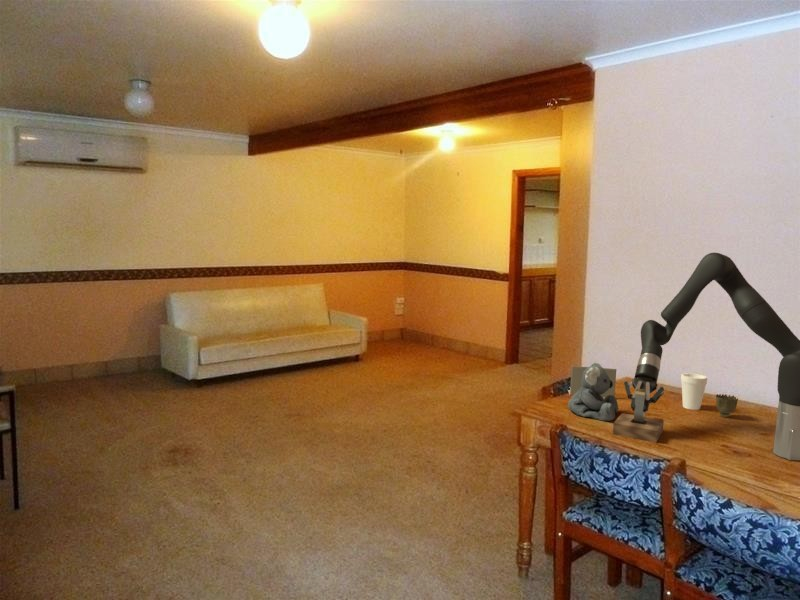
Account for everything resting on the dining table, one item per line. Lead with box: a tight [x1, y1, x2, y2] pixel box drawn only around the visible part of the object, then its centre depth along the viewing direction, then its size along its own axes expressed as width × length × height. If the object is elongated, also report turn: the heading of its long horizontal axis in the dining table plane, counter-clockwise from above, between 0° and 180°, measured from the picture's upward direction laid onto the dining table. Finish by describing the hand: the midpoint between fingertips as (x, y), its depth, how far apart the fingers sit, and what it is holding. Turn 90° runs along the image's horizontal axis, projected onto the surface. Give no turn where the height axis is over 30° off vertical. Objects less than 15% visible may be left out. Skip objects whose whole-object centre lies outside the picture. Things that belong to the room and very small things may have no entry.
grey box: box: [567, 365, 617, 397], centre depth 264 cm, size 18×12×13 cm
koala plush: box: [567, 361, 619, 422], centre depth 234 cm, size 17×18×20 cm
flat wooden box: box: [612, 412, 665, 443], centre depth 214 cm, size 14×14×4 cm
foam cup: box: [680, 372, 708, 411], centre depth 247 cm, size 10×9×13 cm
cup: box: [715, 393, 739, 418], centre depth 237 cm, size 8×7×8 cm
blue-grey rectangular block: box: [633, 389, 646, 424], centre depth 213 cm, size 3×3×12 cm
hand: (638, 410), depth 211 cm, fingers closed on blue-grey rectangular block, 3 cm apart
